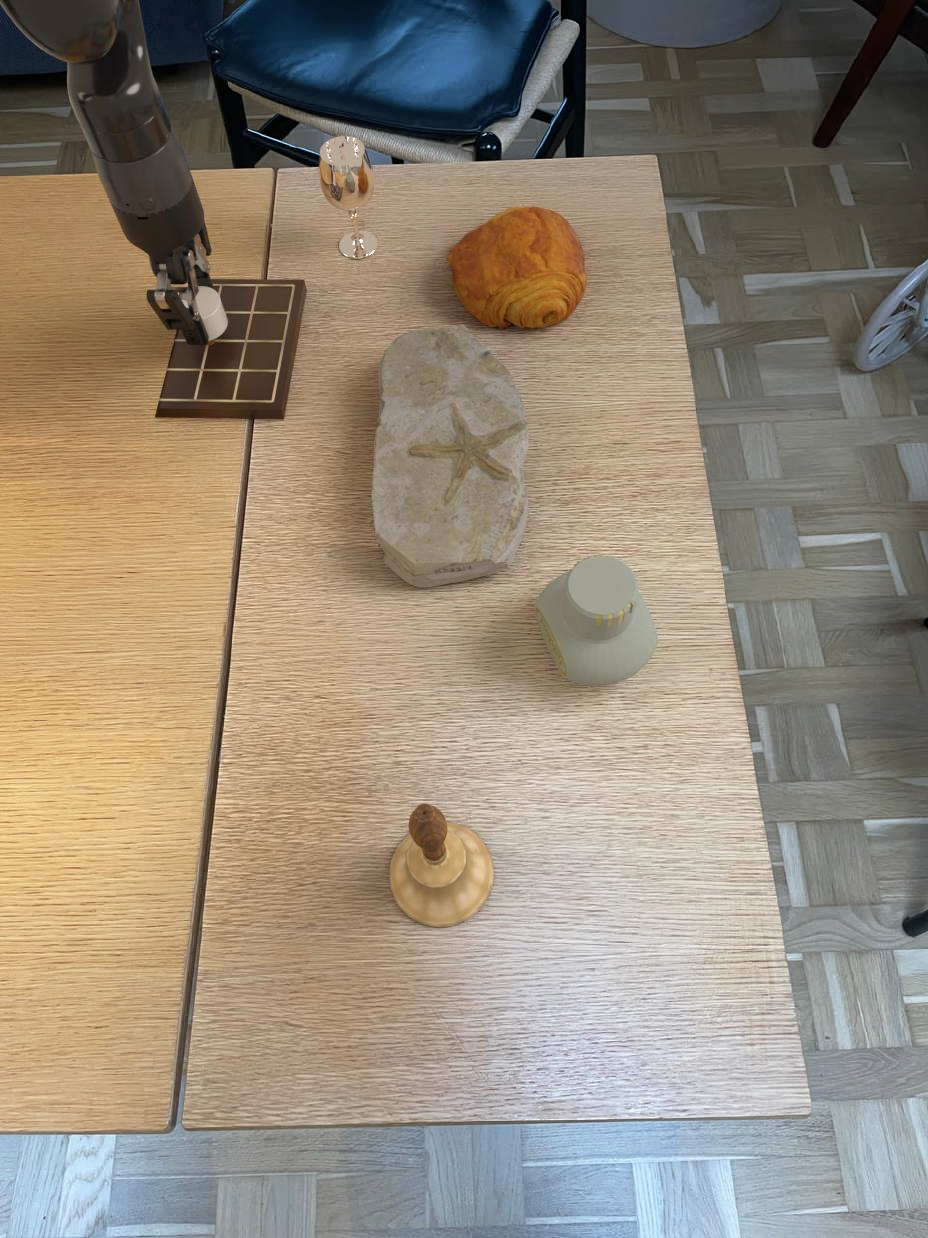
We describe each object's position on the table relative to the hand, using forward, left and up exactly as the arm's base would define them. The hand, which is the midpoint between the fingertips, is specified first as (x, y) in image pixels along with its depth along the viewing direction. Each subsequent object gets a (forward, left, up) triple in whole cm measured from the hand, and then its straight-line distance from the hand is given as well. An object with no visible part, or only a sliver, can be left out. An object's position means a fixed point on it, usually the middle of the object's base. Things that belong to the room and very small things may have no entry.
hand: (203, 322), depth 101 cm
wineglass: (+14, +16, -4) cm, 21 cm away
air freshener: (+40, -33, -4) cm, 52 cm away
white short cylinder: (0, 0, 0) cm, 0 cm away
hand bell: (+28, -54, -4) cm, 61 cm away
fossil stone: (+26, -14, -4) cm, 30 cm away
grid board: (0, 0, -4) cm, 4 cm away
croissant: (+32, +10, -4) cm, 34 cm away
